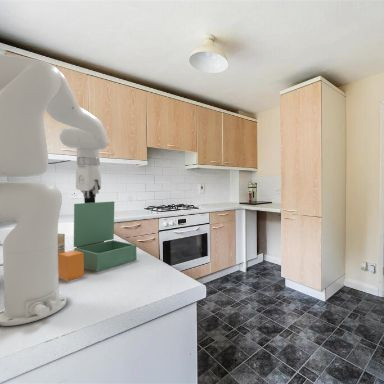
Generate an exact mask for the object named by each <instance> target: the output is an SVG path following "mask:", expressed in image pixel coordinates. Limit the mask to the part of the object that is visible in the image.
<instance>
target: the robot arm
mask: <svg viewBox="0 0 384 384" xmlns="http://www.w3.org/2000/svg"><path fill="white" fill-rule="evenodd" d="M45 112H47V114H48V115H49V117H50V118H51V119H52V120H54V121H56V122H57V123H61V124H63V125H66V126H69V127H65V128H62V129H61V130H60V132H59V141H60V142H61V144H63V145H64V146H65V147H67V148H69V149H75V150H76V153H75V154H76V171H75V189H76V190H77V191H80V193H82V194H83V195H82V196H83V198H84V199H83V200H84V202H83V203H96V197H97V195H98V194H99V193H100V192H99V191H100V190H101V189H102V177H101V169H100V166H101V165H100V150H104V149H105V148H107V147H108V144H109V137H108V134H107V131H106V129H105V127H104V126H105V125H104V124H103V123H102V121H101V120H100V119H99V118H98V117H96V116H95V115H94V114H92V113H91V112H89V111H88V110H86V109H85V108H83V107H81V106H80V105H79V103H78V101H77V99H76V97H75V95H74V93H73V90H72V88H71V86H70V84H69V83H68V80H67V78H66V77H65V75H64V74H63V73H62V71H60V70H59V69H58V68H57V67H56V66H55V65H53V64H52V63H50V62H47V61H44V60H40V59H36V58H32V57H26V56H20V55H14V54H5V53H4V54H3V53H0V178H30V177H31V178H33V177H38V176H41V175H44V174H45V173H46V172H47V171H48V170H49V169H48V168H49V154H48V152H49V151H48V145H47V138H46V129H45V119H44V118H45ZM62 202H63V196H62V192H61V191H60V189H59V188H58V187H57V186H55V185H53V184H51V183H47V182H41V181H0V223H16V225H15V226H14V227H13V228H12V229H11V230H10V232H9V233H7V235H6V237H5V238H4V240H3V242H2V261H3V263H2V266H3V269H2V270H3V294H4V295H3V300H4V302H3V303H4V308H2V309H1V310H0V326H4V327H10V326H18V325H24V324H28V323H32V322H36V321H40V320H41V319H44V318H46V317H47V318H48V317H49V316H51V315H53V314H56V313H57V312H59V311H61V310H62V309H63V308H64V307H65V306H66V304H67V303H68V302H67V299H68V298H67V296H66V295H64V294H60V293H59V292H60V291H59V290H60V289H59V288H60V287H59V283H60V282H59V270H58V234H59V219H60V213H61V208H62Z"/></svg>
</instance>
